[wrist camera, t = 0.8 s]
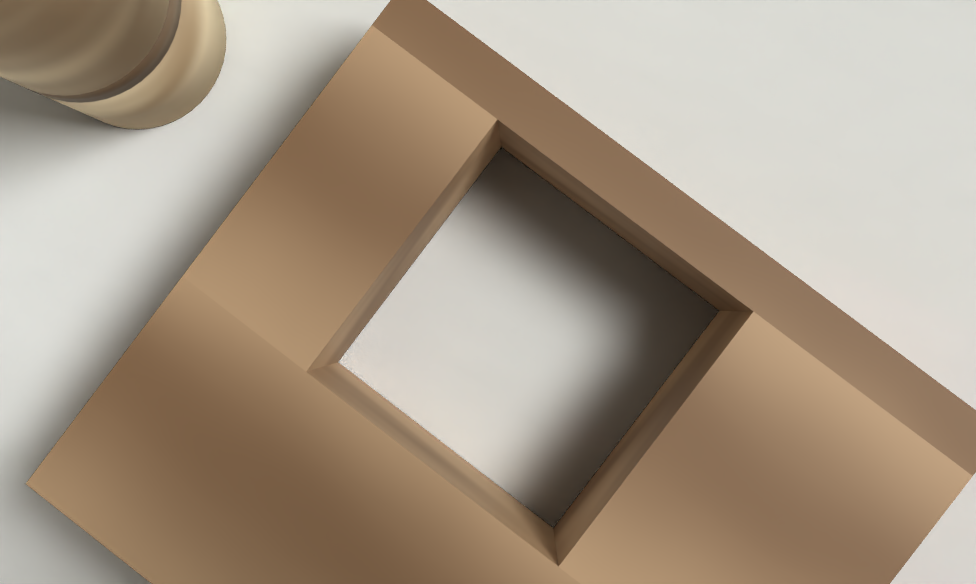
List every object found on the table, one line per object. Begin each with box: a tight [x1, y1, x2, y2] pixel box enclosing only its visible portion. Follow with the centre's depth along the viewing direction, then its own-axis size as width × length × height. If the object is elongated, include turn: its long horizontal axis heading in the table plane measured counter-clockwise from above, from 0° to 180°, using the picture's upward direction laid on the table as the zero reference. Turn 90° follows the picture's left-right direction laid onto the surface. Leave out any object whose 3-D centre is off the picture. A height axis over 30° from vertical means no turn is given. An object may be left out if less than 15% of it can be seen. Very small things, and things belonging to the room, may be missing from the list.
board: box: [26, 0, 976, 584], centre depth 19 cm, size 12×14×3 cm
